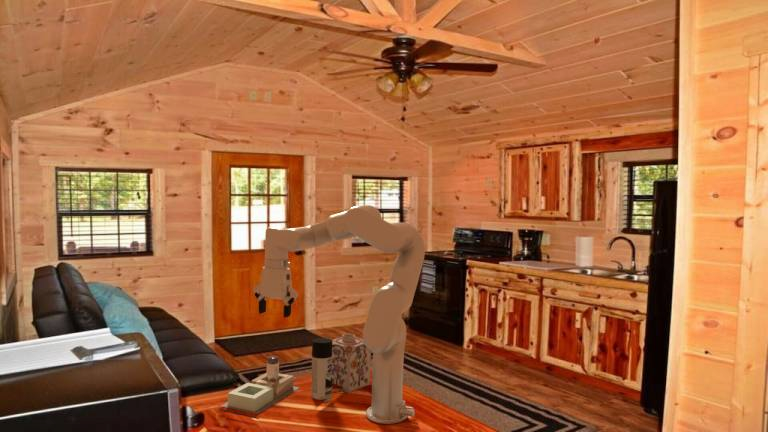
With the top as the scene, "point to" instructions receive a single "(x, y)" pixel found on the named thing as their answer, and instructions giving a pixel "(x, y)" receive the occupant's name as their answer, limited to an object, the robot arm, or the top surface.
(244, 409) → the base board
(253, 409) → the sage dock
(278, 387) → the maple mount
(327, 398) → the spray can
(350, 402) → the top surface
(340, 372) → the decorative jar
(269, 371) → the steel pin
